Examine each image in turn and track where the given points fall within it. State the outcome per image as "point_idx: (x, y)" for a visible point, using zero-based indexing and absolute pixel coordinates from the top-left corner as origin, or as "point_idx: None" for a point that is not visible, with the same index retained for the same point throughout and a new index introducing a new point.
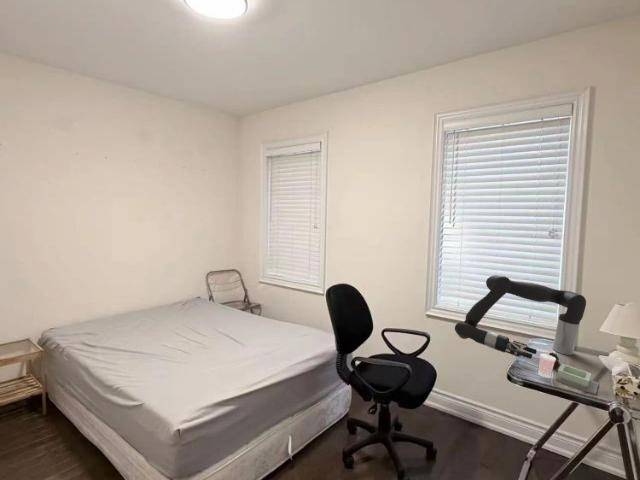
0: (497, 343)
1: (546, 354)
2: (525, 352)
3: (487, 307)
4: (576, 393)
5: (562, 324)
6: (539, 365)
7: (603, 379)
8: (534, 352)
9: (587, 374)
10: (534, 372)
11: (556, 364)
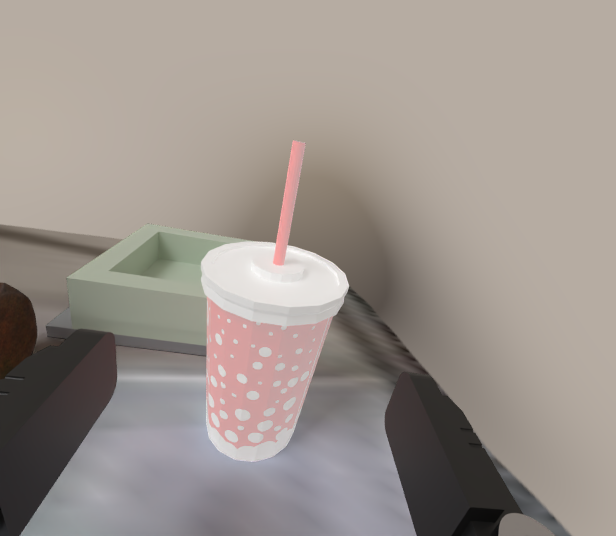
0: None
1: (211, 268)
2: (475, 461)
3: None
4: (342, 312)
5: None
6: (278, 400)
7: (56, 234)
8: (105, 385)
9: (181, 233)
10: (258, 495)
11: (25, 319)
